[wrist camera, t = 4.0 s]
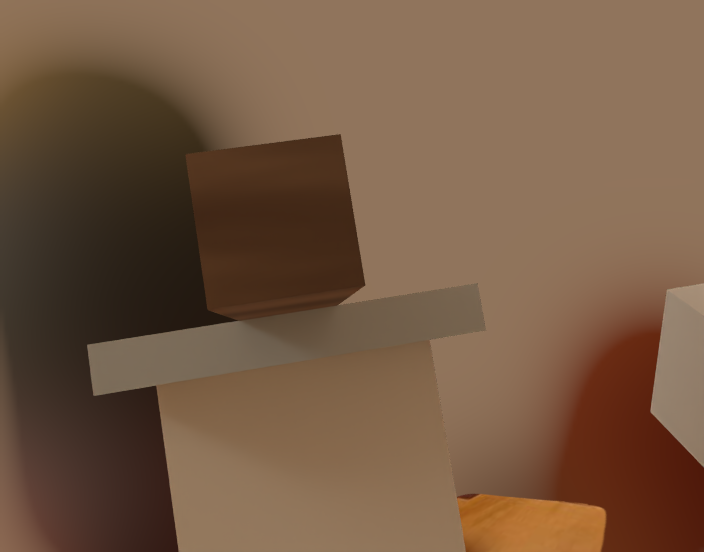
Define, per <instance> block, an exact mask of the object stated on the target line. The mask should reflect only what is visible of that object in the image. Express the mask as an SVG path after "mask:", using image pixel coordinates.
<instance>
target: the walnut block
mask: <svg viewBox="0 0 704 552" xmlns="http://www.w3.org/2000/svg"><path fill="white" fill-rule="evenodd" d="M186 161H187V167H188V175H189V182H190V188H191V196H192V203H193V209H194V217H195V223H196V230H197V237H198V245H199V252H200V259H201V266H202V273H203V280H204V286H205V293H206V301H207V308H208V310H210V311H213V312H216V313H219V314H221V315H225V316H227V317H230V318H233V319H236V320H239V321H242V320H249V319H255V318H261V317H268V316H274V315H280V314H287V313H293V312H299V311H306V310H312V309H318V308H325V307H331V306H337V305H339V304H340V303H341V302H343V301H344V300H345V299H347V298H348V297H350V296H351V295H352V294H354V293H355V292H356V291H358V290H359V289H361V288H362V287H364V286H365V281H364V275H363V269H362V263H361V257H360V251H359V245H358V238H357V232H356V226H355V220H354V214H353V208H352V201H351V195H350V189H349V183H348V177H347V171H346V165H345V159H344V153H343V147H342V140H341V135H340V134H339V135H331V136H324V137H316V138H308V139H300V140H292V141H285V142H277V143H269V144H261V145H253V146H245V147H238V148H230V149H223V150H215V151H206V152H199V153H191V154H186Z"/></svg>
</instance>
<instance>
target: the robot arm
mask: <svg viewBox="0 0 704 552" xmlns="http://www.w3.org/2000/svg"><path fill="white" fill-rule="evenodd" d="M651 413H652V414H653V415H654V416H655V417H656V418H657V419H658V420H659V421H660V422H661V423H662V424H663V425H664V426H665V427H666V428H667V429H668V430H669V431H670V432H671V433H672V435H674V437H675V438H676V439H677V440H678V441H679V442H680V443H681V444H682V445H683V446H684V447H685V448H686V449H687V450H688V451H689V452H690V453H691V454H692V455H693V456H694V457H695V458H696V460H697V461H698V462H699V463H700V464H701V465H702V466H703V467H704V284H698V285H692V286H687V287H680V288H674V289H668V290H667V293H666V301H665V308H664V316H663V323H662V330H661V339H660V345H659V353H658V360H657V367H656V376H655V383H654V390H653V397H652V405H651Z"/></svg>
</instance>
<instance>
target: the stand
mask: <svg viewBox="0 0 704 552" xmlns="http://www.w3.org/2000/svg"><path fill="white" fill-rule="evenodd" d="M479 331H485V323H484V317H483V312H482V306H481V300H480V295H479V290H478V284H471V285H464V286H458V287H451V288H445V289H439V290H432V291H426V292H420V293H413V294H407V295H401V296H394V297H388V298H382V299H375V300H369V301H363V302H356V303H350V304H344V305H337V306H331V307H325V308H318V309H312V310H306V311H299V312H293V313H287V314H280V315H274V316H268V317H261V318H255V319H249V320H242V321H236V322H230V323H223V324H217V325H211V326H204V327H198V328H192V329H186V330H179V331H173V332H166V333H160V334H154V335H148V336H142V337H135V338H128V339H122V340H116V341H109V342H103V343H97V344H90V345H88V355H89V362H90V370H91V378H92V385H93V394H94V396H95V395H101V394H107V393H113V392H118V391H125V390H131V389H136V388H142V387H149V386H155V385H157V393H158V399H159V406H160V414H161V421H162V430H163V437H164V444H165V451H166V459H167V467H168V473H169V481H170V488H171V496H172V503H173V511H174V518H175V525H176V533H177V540H178V548H179V552H466V550H465V544H464V538H463V532H462V526H461V520H460V515H459V509H458V503H457V497H456V492H455V485H454V480H453V474H452V468H451V462H450V456H449V450H448V444H447V439H446V433H445V428H444V421H443V415H442V410H441V404H440V398H439V392H438V387H437V380H436V374H435V369H434V363H433V357H432V351H431V345H430V340H431V339H437V338H443V337H449V336H455V335H461V334H467V333H473V332H479Z"/></svg>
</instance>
